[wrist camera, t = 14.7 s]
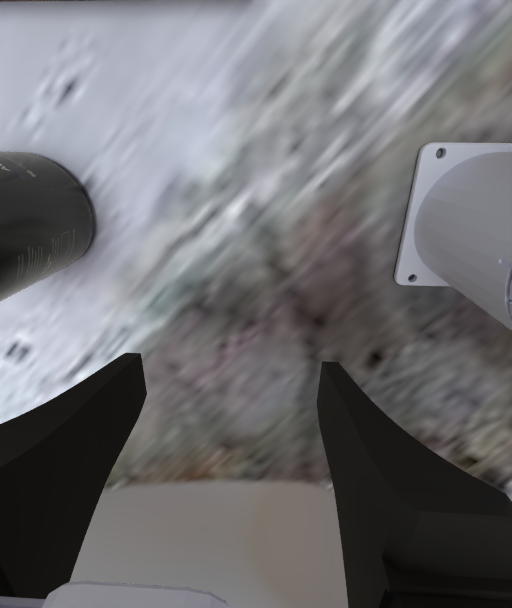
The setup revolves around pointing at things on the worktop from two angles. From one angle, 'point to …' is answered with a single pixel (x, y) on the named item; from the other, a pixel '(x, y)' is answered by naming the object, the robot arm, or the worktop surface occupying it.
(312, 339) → the worktop surface
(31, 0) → the wooden u-shaped bracket
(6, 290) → the supplement bottle
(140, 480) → the worktop surface
